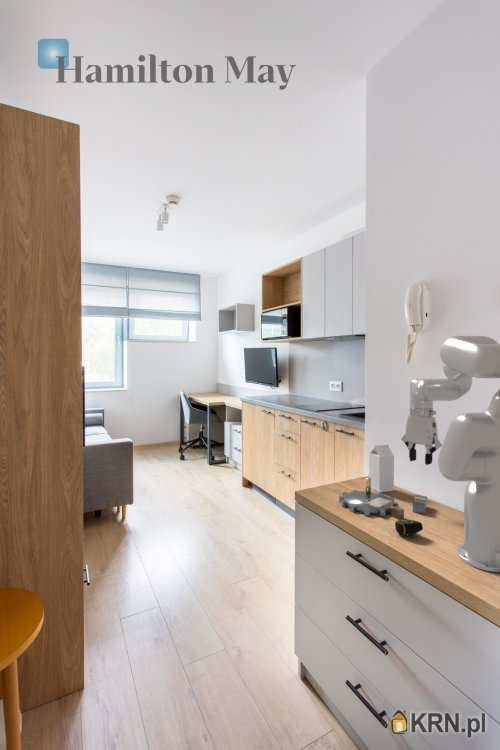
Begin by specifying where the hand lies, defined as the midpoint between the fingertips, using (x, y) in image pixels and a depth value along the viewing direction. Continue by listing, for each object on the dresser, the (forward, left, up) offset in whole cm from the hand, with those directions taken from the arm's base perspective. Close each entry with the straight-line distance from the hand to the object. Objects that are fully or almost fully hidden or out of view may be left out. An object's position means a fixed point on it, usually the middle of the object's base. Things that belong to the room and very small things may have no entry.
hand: (420, 461), depth 131 cm
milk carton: (+21, -7, -18) cm, 28 cm away
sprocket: (+13, +13, -17) cm, 25 cm away
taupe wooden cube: (+1, +13, -17) cm, 22 cm away
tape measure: (-11, +20, -17) cm, 28 cm away
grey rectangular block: (0, 0, -18) cm, 18 cm away
